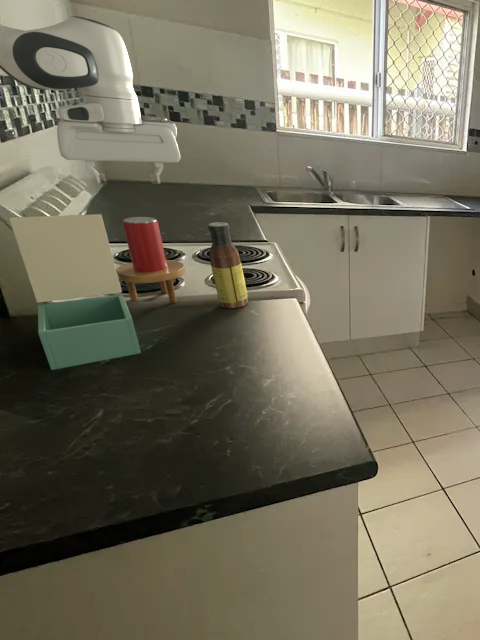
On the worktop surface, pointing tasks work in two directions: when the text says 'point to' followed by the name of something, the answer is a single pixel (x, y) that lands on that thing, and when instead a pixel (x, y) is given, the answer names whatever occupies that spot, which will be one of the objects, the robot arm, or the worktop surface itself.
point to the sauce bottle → (226, 267)
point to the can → (145, 243)
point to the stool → (152, 278)
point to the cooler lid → (66, 256)
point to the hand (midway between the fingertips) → (129, 183)
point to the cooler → (86, 331)
